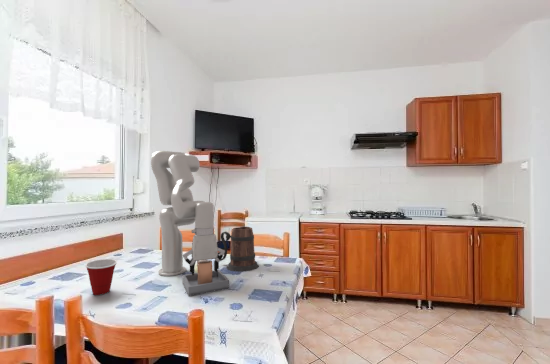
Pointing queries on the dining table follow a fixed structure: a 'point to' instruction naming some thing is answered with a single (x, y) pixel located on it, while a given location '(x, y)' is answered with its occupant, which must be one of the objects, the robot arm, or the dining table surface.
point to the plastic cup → (101, 275)
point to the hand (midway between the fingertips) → (204, 272)
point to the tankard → (240, 249)
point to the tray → (217, 283)
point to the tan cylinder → (204, 271)
